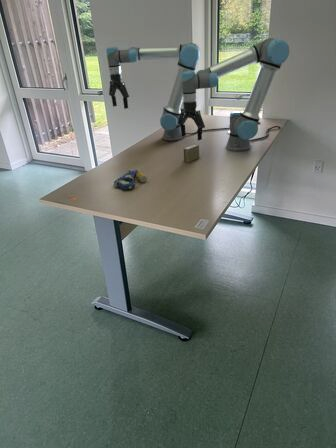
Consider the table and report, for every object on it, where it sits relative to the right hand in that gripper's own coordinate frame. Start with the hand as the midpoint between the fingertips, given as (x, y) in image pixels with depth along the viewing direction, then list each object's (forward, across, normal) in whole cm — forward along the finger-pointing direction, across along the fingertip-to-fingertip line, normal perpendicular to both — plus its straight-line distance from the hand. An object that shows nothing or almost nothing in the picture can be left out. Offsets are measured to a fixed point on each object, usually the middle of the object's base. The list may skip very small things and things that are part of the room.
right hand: (191, 137), depth 200 cm
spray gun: (+14, -2, -45) cm, 47 cm away
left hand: (-13, -60, -8) cm, 62 cm away
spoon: (+14, -23, +69) cm, 74 cm away
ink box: (+14, 0, 0) cm, 14 cm away
